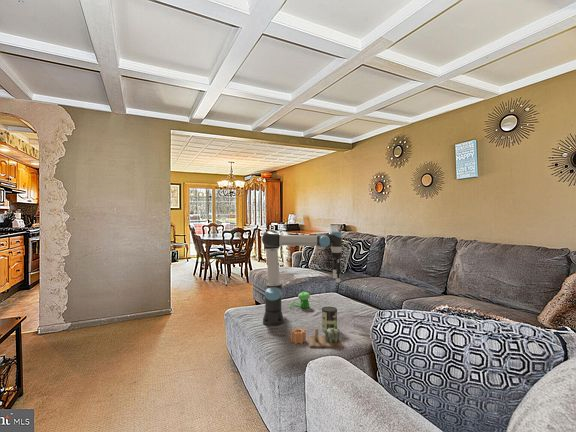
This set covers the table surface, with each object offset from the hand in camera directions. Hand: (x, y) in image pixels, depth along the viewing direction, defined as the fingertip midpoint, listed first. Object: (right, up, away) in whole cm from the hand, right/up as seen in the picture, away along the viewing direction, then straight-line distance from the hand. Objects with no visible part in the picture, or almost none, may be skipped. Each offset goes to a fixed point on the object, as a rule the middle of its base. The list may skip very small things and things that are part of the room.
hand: (336, 280), depth 227 cm
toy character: (-27, -27, +22) cm, 44 cm away
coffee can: (-9, -28, -25) cm, 39 cm away
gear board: (-14, -28, -44) cm, 54 cm away
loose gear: (-30, -28, -41) cm, 58 cm away
